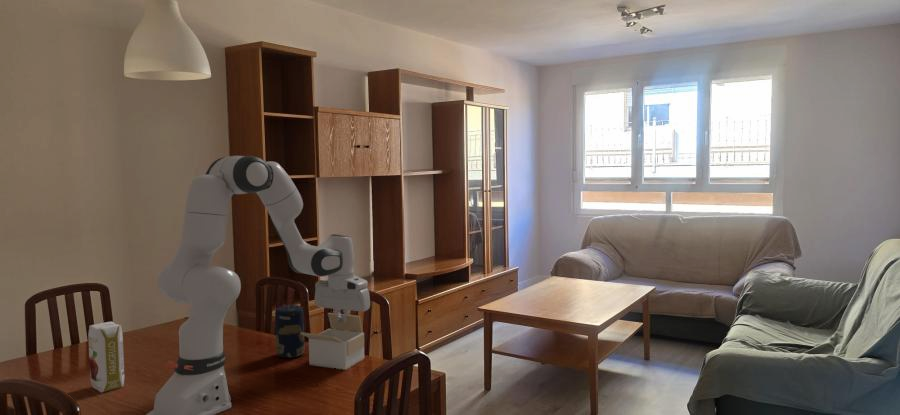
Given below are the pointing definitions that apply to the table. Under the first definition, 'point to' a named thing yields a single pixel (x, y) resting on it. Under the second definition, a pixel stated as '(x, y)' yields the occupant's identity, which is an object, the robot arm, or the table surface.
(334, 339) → the flap near
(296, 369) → the table surface
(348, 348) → the carton
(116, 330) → the juice carton
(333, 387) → the table surface
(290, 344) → the canister
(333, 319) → the flap far
